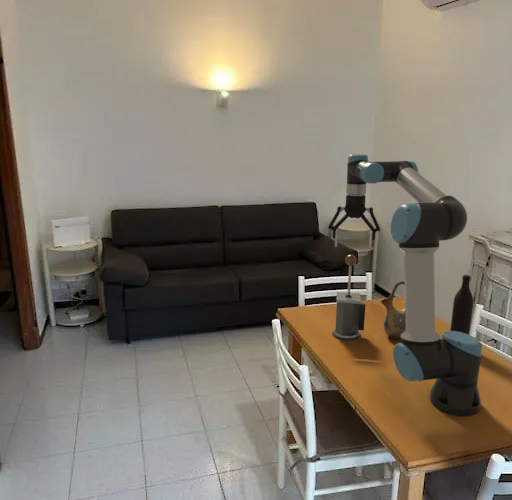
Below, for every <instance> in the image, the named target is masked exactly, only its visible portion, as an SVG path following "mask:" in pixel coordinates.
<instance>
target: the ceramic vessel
mask: <svg viewBox="0 0 512 500" xmlns="http://www.w3.org/2000/svg"><path fill="white" fill-rule="evenodd" d="M400 285H404V286H405V281H399V282H397V283H396V284H395V285H394V287H393V289H392V291H391V293H390V295H389V296H388V297H385V298H382V299H381V300H380V303H381V305H383V306H384V307H385V309H386V316H385V318H384V319H383V329H384V331H385V334H386V335H387V336H388V337H389V338H391V339H394V340H401V334H402V333H403V332H404V331H405V330H406V328H405V307H404V308H400V309H399V308H395V307H394V305H393V304H394V303H393V301H394V298H395V297H394V296H395V294H396V290H398V289H397V288H398V287H399V286H400Z"/></svg>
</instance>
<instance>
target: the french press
mask: <svg viewBox="0 0 512 500" xmlns="http://www.w3.org/2000/svg"><path fill="white" fill-rule="evenodd" d="M347 294H348V291H336V314H335V327H334V330H333V331H334V335H335V336H336V337H337V338H340V339H344V340H353V339H356V338H358V336H359V333H360V332H359V331H364V330H365V319H366V318H365V317H366V303H365V302H364V303H362V298H361V292H360V293H359V292H350V298H348V297H347Z"/></svg>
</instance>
